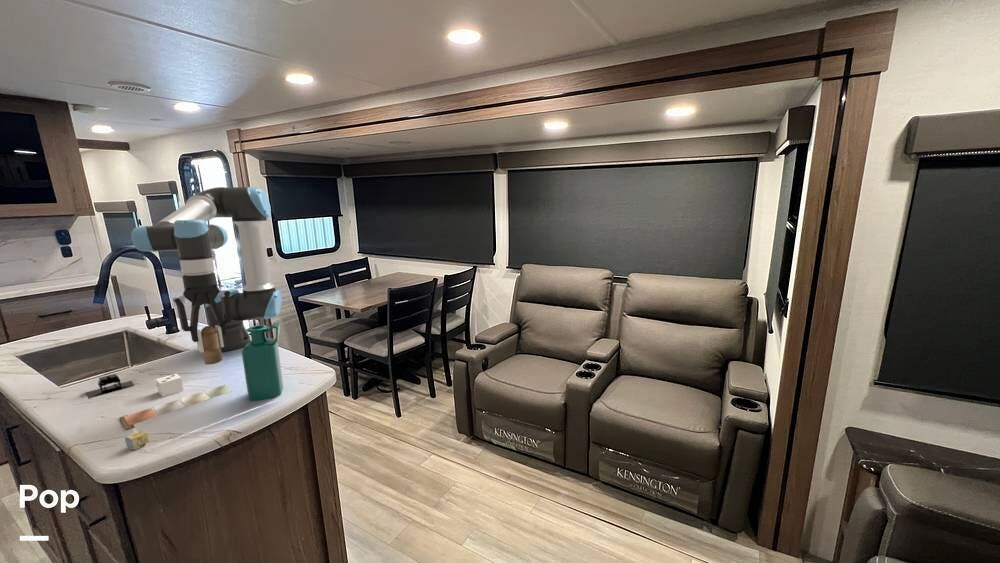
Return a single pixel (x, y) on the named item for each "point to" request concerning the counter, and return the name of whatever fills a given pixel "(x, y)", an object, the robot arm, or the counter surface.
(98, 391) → the black piece
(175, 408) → the game board
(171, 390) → the die
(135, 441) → the alphabet block
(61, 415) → the counter surface
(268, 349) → the green plastic tall bottle
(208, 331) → the wooden domed cylinder
